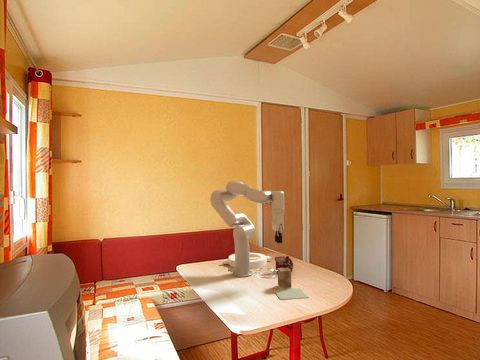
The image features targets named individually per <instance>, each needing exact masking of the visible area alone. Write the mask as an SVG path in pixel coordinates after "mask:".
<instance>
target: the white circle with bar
mask: <svg viewBox="0 0 480 360" xmlns="http://www.w3.org/2000/svg"><path fill="white" fill-rule="evenodd" d="M270 261H272V257H271V256H268V255H267V256H266V255H265V254H263V253H258V252H250V269H258V268H262V267H264V266H266V265H267V263H268V262H270ZM222 262H223V263H222V264H224V265H229V266H231V267H232V268H234V266H235V253H232V254H230V255H228V259H223V260H222Z"/></svg>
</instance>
